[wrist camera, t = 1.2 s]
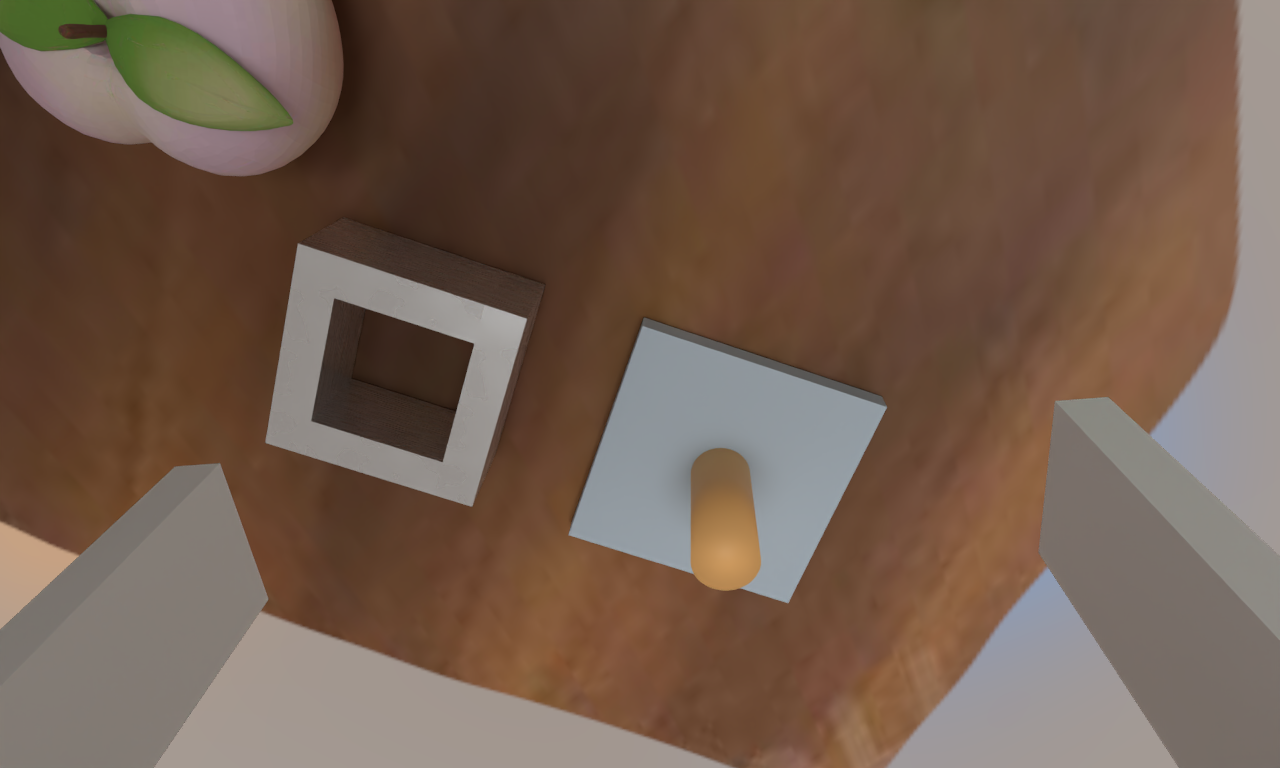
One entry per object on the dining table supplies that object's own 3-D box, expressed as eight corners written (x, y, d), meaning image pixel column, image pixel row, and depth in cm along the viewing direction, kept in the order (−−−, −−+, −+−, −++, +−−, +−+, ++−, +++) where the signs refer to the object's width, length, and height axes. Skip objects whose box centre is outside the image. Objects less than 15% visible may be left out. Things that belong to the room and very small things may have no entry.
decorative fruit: (413, -70, 28) (277, -111, 19) (375, 172, 31) (242, 237, 22) (130, -161, 27) (-154, -250, 18) (121, 95, 30) (-123, 129, 21)
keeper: (571, 522, 37) (546, 629, 30) (643, 317, 33) (632, 390, 26) (785, 588, 37) (805, 706, 31) (881, 396, 34) (926, 486, 27)
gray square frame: (310, 398, 35) (265, 442, 31) (343, 217, 32) (298, 243, 28) (494, 456, 36) (472, 506, 32) (545, 284, 32) (526, 318, 29)
